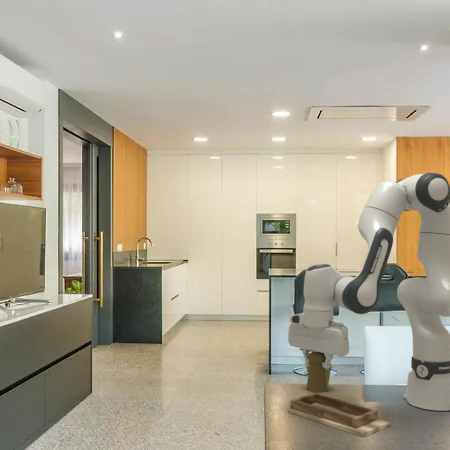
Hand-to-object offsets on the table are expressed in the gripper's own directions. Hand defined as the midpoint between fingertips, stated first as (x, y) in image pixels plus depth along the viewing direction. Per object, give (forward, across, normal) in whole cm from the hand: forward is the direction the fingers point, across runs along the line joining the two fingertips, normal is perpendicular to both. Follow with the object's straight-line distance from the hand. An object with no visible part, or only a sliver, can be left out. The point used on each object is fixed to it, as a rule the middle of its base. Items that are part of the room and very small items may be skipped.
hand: (317, 366), depth 161 cm
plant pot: (+14, +15, -20) cm, 28 cm away
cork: (+7, 0, 0) cm, 7 cm away
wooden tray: (+14, -7, 0) cm, 15 cm away
